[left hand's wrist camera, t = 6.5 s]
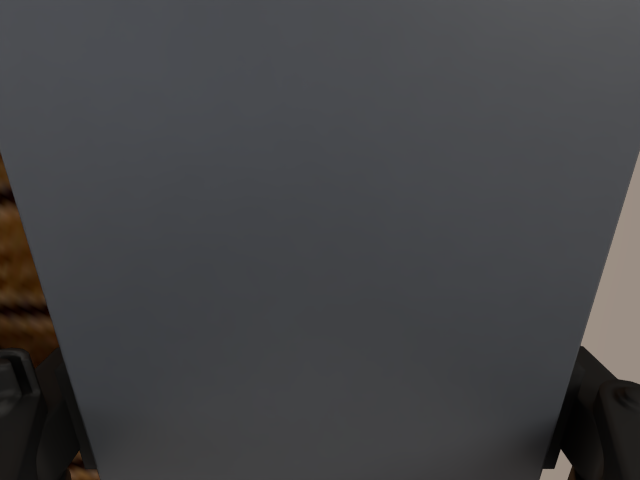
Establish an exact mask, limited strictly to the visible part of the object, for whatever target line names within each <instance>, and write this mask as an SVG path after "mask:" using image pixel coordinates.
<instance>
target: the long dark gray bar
mask: <svg viewBox="0 0 640 480" xmlns="http://www.w3.org/2000/svg"><path fill="white" fill-rule="evenodd" d="M639 151H640V0H0V152H1V155H2V159H3V162H4V165H5V169H6V172H7V175H8V178H9V182H10V185H11V188H12V192H13V195H14V198H15V201H16V205H17V208H18V211H19V214H20V218H21V221H22V224H23V228H24V231H25V234H26V237H27V241H28V244H29V247H30V251H31V254H32V257H33V260H34V264H35V267H36V270H37V274H38V277H39V280H40V283H41V287H42V290H43V293H44V297H45V300H46V303H47V306H48V310H49V313H50V316H51V319H52V323H53V326H54V329H55V333H56V336H57V339H58V342H59V346H60V349H61V352H62V356H63V359H64V362H65V365H66V369H67V372H68V375H69V379H70V382H71V385H72V388H73V392H74V395H75V398H76V401H77V405H78V408H79V411H80V415H81V418H82V421H83V424H84V428H85V431H86V434H87V438H88V441H89V444H90V447H91V451H92V454H93V457H94V461H95V464H96V467H97V470H98V474H99V477H100V480H539V479H540V476H541V473H542V469H543V466H544V463H545V460H546V456H547V453H548V450H549V446H550V443H551V440H552V437H553V433H554V430H555V427H556V423H557V420H558V417H559V414H560V410H561V407H562V404H563V400H564V397H565V394H566V391H567V387H568V384H569V381H570V377H571V374H572V371H573V368H574V364H575V361H576V358H577V354H578V351H579V348H580V345H581V341H582V338H583V335H584V331H585V328H586V325H587V322H588V318H589V315H590V312H591V308H592V305H593V302H594V299H595V295H596V292H597V289H598V286H599V282H600V279H601V276H602V272H603V269H604V266H605V262H606V259H607V256H608V253H609V249H610V246H611V243H612V240H613V236H614V233H615V230H616V226H617V223H618V220H619V216H620V213H621V210H622V207H623V203H624V200H625V197H626V193H627V190H628V187H629V184H630V180H631V177H632V174H633V171H634V167H635V164H636V161H637V157H638V154H639Z"/></svg>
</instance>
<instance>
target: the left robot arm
mask: <svg viewBox="0 0 640 480" xmlns="http://www.w3.org/2000/svg"><path fill="white" fill-rule="evenodd" d="M560 450H562V451H563V453H564V454H565V455H566V457H567V458H568V460H569V461H570V463H571V464H572V468H571V471H570V474H569V477H568V480H640V384H637V383H634V382H631V381H625V380H619V379H617V378H616V377H615V376H614V375H613V374H612V373H611V372H610V371H609V370H607V369H606V368H605V367H604V366H603V365H602V364H601V363H600V362H599V361H598V360H597V359H596V358H595V357H594V356H593V355H592V354H591V353H590V352H588V351H587V350H586V349H585V348H584V347H583V346H580V348H579V351H578V354H577V358H576V361H575V364H574V368H573V371H572V374H571V377H570V381H569V384H568V387H567V391H566V394H565V397H564V400H563V404H562V407H561V410H560V414H559V417H558V420H557V423H556V427H555V430H554V433H553V437H552V440H551V443H550V446H549V450H548V453H547V456H546V460H545V463H544V466H543V469H554V468H555V465H556V462H557V459H558V456H559V453H560ZM78 451H80V454H81V457H82V460H83V463H84V466H85V469H97V467H96V464H95V461H94V457H93V454H92V451H91V447H90V444H89V441H88V438H87V434H86V431H85V428H84V424H83V421H82V418H81V415H80V411H79V408H78V405H77V401H76V398H75V395H74V392H73V388H72V385H71V382H70V379H69V375H68V372H67V369H66V365H65V362H64V359H63V356H62V352H61V349H60V347H59V348H56V349H55V350H54V351H53V352H52V353H51V354H50V355H49V356H48V357H47V358H46V359H45V360H44V361H43V362H42V363H41V364H40V365H38V366H37V367H36V368H35V369H34V366H33V363H32V360H31V358H30V355H29V353H28V352H27V351H25V350H24V349H20V348H6V349H0V480H71V474H70V471H69V468H68V466H69V465H70V463H71V462H72V460H73V459H74V457H75V456H76V454H77V453H78Z"/></svg>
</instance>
